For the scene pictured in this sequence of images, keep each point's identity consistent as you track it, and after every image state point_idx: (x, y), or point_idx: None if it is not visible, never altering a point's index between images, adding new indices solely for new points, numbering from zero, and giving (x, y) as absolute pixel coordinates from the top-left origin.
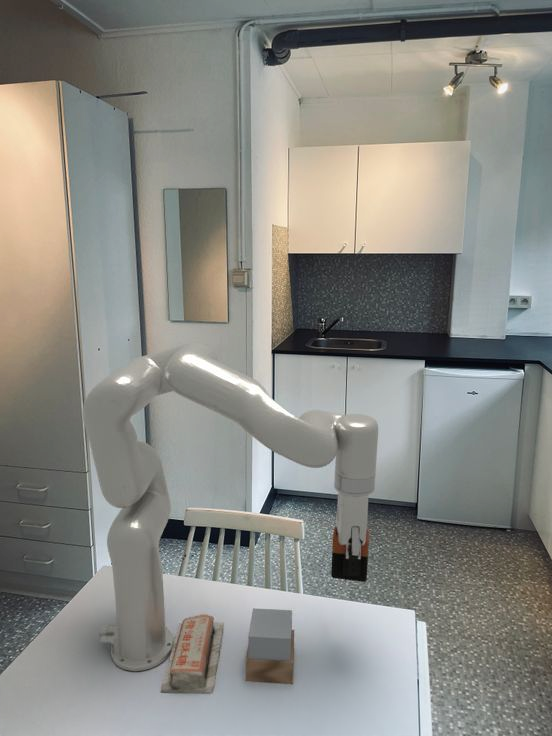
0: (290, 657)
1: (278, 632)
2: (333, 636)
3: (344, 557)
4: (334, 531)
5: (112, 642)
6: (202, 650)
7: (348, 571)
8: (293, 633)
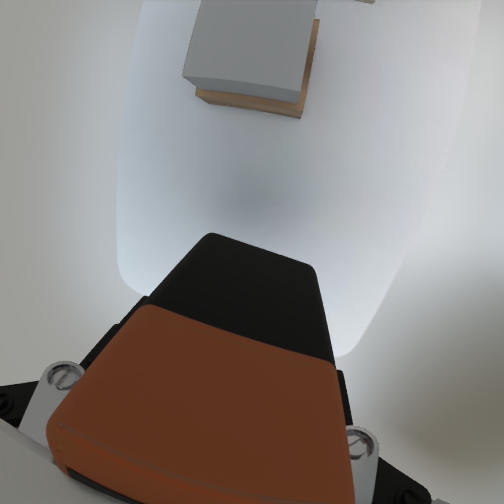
0: (212, 91)
1: (210, 46)
2: (325, 210)
3: (89, 361)
4: (195, 499)
5: None
6: None
7: (110, 329)
8: (289, 106)
